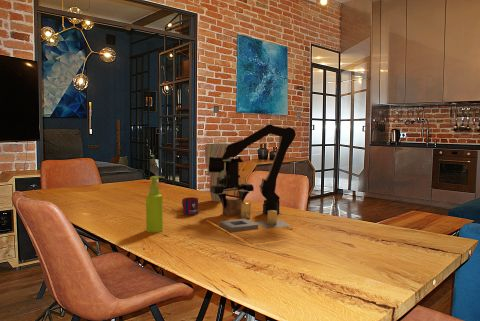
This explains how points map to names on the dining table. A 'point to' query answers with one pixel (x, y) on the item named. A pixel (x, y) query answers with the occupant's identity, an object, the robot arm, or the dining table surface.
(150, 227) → the soap dispenser
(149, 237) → the dining table surface
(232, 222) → the socket board
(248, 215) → the pin
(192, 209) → the mug
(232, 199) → the box
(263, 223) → the board
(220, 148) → the vase
